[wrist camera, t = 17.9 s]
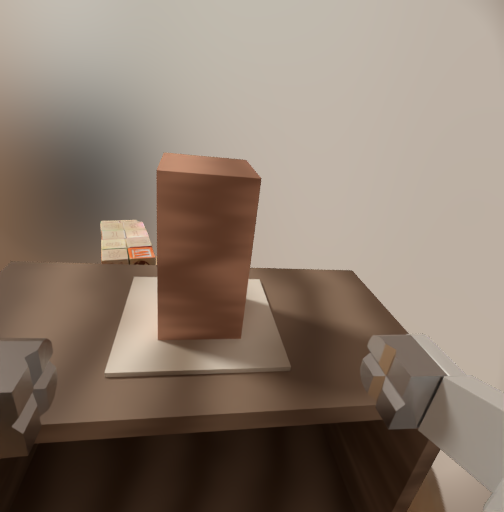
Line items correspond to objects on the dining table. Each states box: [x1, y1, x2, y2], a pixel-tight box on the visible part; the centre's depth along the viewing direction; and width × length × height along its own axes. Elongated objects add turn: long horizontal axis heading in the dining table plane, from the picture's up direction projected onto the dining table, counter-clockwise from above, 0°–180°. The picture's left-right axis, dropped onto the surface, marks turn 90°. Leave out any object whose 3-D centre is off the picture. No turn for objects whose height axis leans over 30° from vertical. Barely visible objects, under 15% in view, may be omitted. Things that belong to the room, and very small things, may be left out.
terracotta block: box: [157, 153, 261, 340], centre depth 20 cm, size 5×5×10 cm
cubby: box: [0, 261, 440, 512], centre depth 26 cm, size 29×15×18 cm, turn 99°
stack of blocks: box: [100, 220, 156, 265], centre depth 51 cm, size 21×6×12 cm, turn 23°
